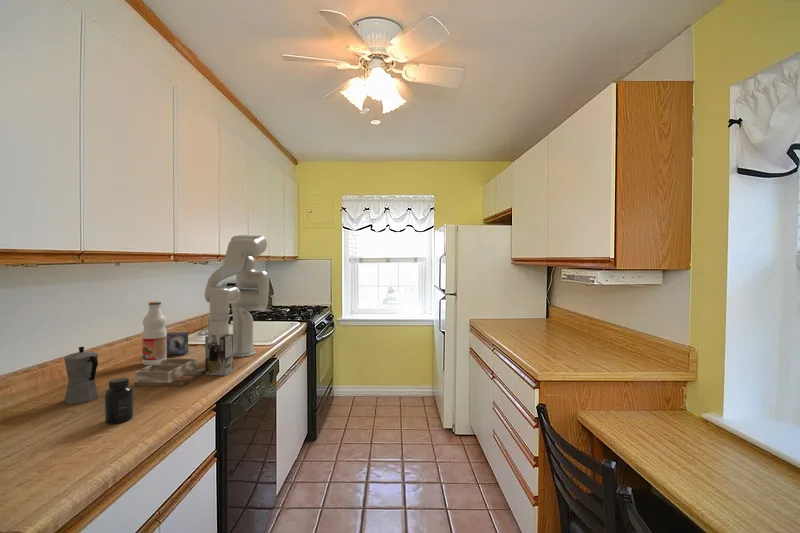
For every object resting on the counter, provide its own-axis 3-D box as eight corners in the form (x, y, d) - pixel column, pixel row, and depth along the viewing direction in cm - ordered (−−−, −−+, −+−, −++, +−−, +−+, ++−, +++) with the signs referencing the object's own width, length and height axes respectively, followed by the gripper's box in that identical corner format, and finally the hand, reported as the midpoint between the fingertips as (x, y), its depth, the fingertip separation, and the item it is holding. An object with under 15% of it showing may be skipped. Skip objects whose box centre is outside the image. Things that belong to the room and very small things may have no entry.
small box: (160, 356, 187) (160, 335, 187) (165, 353, 194) (165, 332, 194) (184, 355, 190) (184, 334, 189) (188, 352, 196) (188, 331, 196)
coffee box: (233, 371, 165) (233, 334, 164) (225, 376, 158) (225, 337, 158) (213, 370, 166) (213, 333, 165) (204, 375, 159) (204, 336, 159)
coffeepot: (54, 400, 129) (53, 347, 128) (86, 392, 137) (86, 342, 137) (79, 409, 122) (79, 352, 122) (112, 399, 131) (112, 346, 130)
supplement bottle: (134, 413, 119) (135, 375, 119) (131, 422, 113) (131, 381, 113) (107, 417, 116) (107, 378, 116) (102, 426, 110) (102, 384, 110)
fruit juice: (167, 364, 174) (167, 302, 174) (142, 366, 169) (142, 303, 169) (166, 359, 182) (166, 300, 182) (142, 361, 177) (142, 301, 177)
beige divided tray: (166, 370, 165) (166, 358, 165) (208, 370, 165) (208, 358, 165) (134, 385, 145) (134, 372, 145) (182, 386, 145) (182, 372, 145)
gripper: (220, 314, 170) (219, 353, 170) (199, 320, 153) (199, 363, 153) (237, 314, 170) (236, 353, 170) (218, 320, 153) (218, 363, 153)
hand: (219, 357), depth 161 cm, fingers open, 9 cm apart
